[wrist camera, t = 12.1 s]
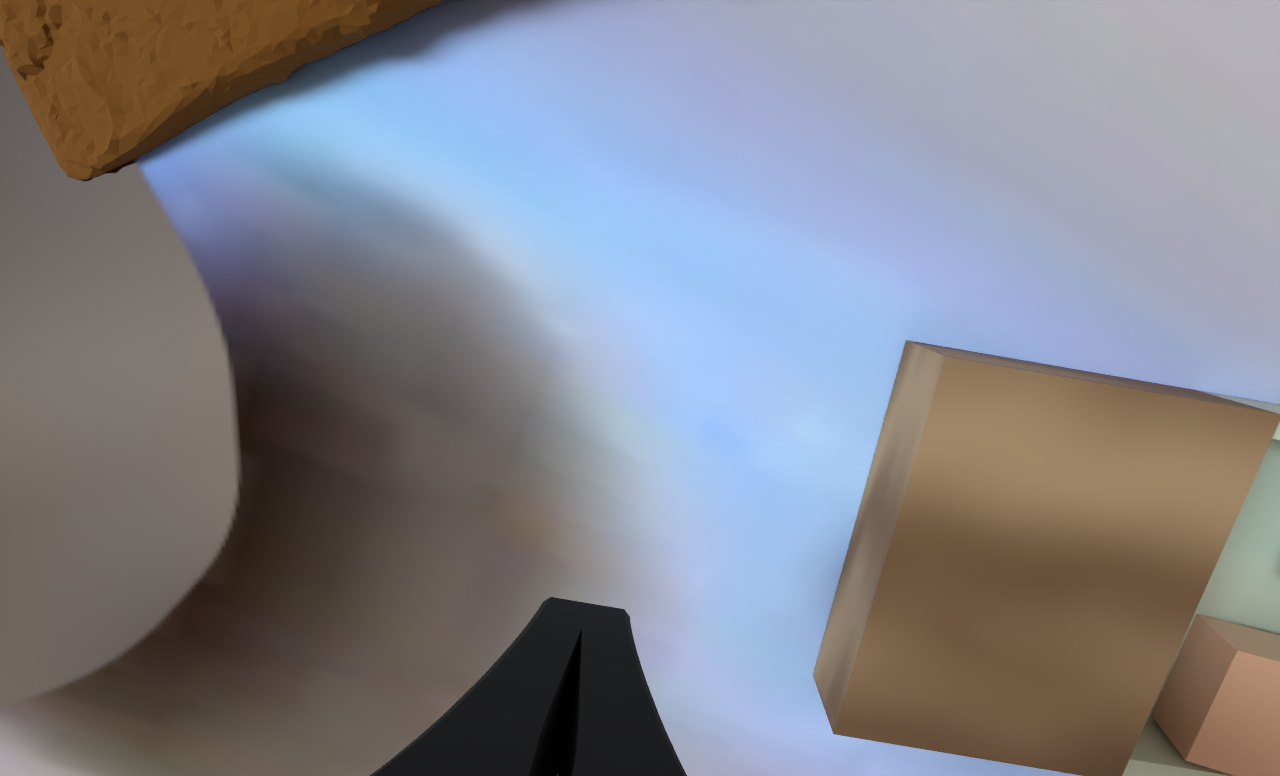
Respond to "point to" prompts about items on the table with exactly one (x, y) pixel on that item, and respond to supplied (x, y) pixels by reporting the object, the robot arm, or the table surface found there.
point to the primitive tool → (164, 63)
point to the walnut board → (1030, 557)
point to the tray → (1230, 596)
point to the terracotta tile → (1225, 699)
